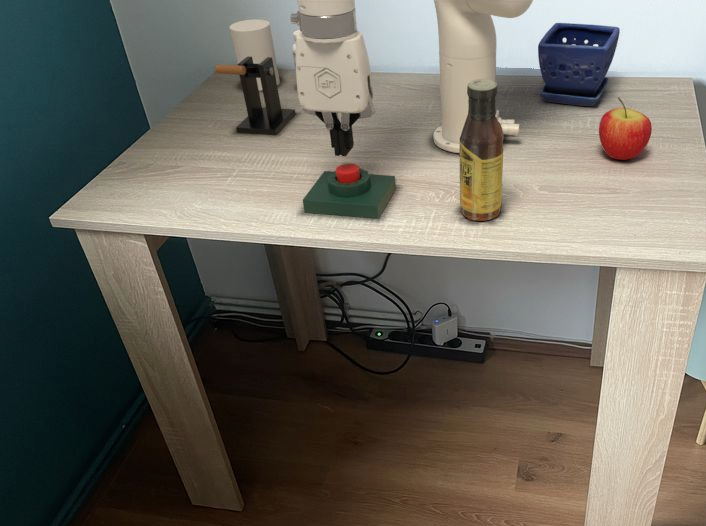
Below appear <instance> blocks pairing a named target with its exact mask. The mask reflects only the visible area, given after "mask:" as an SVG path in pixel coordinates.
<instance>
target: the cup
mask: <svg viewBox="0 0 706 526" xmlns="http://www.w3.org/2000/svg"><path fill="white" fill-rule="evenodd" d="M270 24H271V23H270V22H269V21H268V20H265V19H245V20H240V21H236V22H234V23H232V24H230V26H229V32H230V36H231V41H232V46H233V51H234V55H235V61H236V65H237V64H239V63H240V62H241V61H242V60H244V59H245V58H246V57H247V56H249V57H252V59H253V64H260V63H261V62H262V61H263V60H265V59H266V58H267V57H272V59H273V65H274V71H275V76H276V82H277V86H279V85H280V83H281V81H280V76H279V70H278V63H277V58H276V53H275V46H274V41H273V35H272V30H271V25H270ZM256 79H257V84H258V89H259V92H261V91H263V90H262V85H261V80H260V78H256ZM240 84H241V83H240ZM241 86H242V84H241Z"/></svg>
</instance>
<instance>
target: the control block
mask: <svg viewBox="0 0 706 526" xmlns="http://www.w3.org/2000/svg"><path fill="white" fill-rule="evenodd" d="M359 171H360V180H358V181H356V182H353V183H340V182H338V181H337V176H336V170H334V171H333V170H332V171H330V170H323V172H322V173H321V175H320V176H319V177H318V179H317V180H316V181H315V183H314V184H313V185H312V186H311V188H310V189H309V191H307V193H306V195H305V196H303V199H302V205H303V211H304V213H306V214H307V213H308V214H318V215H331V216H341V217H343V216H344V217H354V218H367V219H380V217H381V215H382V213H383V212H384V210H385V208H386V206H387V204H388V203H389V201H390V200H391V198H392V196H393V195H394V193H395V191H396V189H397V184H396V176H395V175H389V174H375V173H369V172H368V170H365V169H363V168H361V167H359Z"/></svg>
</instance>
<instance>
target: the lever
mask: <svg viewBox="0 0 706 526" xmlns="http://www.w3.org/2000/svg"><path fill="white" fill-rule="evenodd" d="M258 65H259V64H252V63H248V67H245V66H238V65H237V64H236V65H234V64H233V65H232V64H216V65H215V67H214V70H215V73H216V74H218V75H219V74H220V75H239V76H240V75H244V74H245V73H248V77H251V78H260V74H259V69H258Z"/></svg>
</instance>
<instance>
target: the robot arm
mask: <svg viewBox="0 0 706 526" xmlns="http://www.w3.org/2000/svg"><path fill="white" fill-rule="evenodd" d="M355 1H356V0H297V7H298V11H297V12H296V13H293V12H292V13H290V23H291V24H292V25H296V26H299V30H300V32H302V33H300V34H298V35H297V36H296V41H295V43H296V69H295V78H296V79H295V81H296V90H297V97H298V103H299V105H300V107H301V108H302V112H303V113H304V114H308V115H311V116H314V117H315V116H316V118H318V119H319V120H320V121H321V122H322V123H323V124H324V125H325V128H326V130H328V131H329V137H330V145H331V148H332V149H333V150H334V151H333V152H334V156H335V157H340V156H341V157H347V156H348V155H349V153H350V152H351V151H352V149H353V148H354V145H355V143H354V133H353V125H354V124H355V123H356V122H357V121H358V120H359V119H366V118H371V117H373V115H374V114H375V113H376V109H375V106H374V103H373V99H374V84H373V76H372V72H371V71H372V69H371V64H370V59H369V54H368V50H367V47H366V43H365V38H364V35H363V33H362V31H359V30H358V23H357V13H356V12H357V11H356V2H355ZM533 2H534V0H433V4H434V8H435V13H436V20H437V30H438V32H437V33H438V57H439V59H438V60H439V61H438V63H439V87H440V89H439V91H440V92H439V93H440V114H441V116H440V117H441V118H440V120H441V125H440V126H438V127H437V128H436V129H435V130H434V132H433V134H432V137H433V143H434V145H435V146H437V147H438V148H439V149H442V150H443V151H446V152H450V153H454V154H460V148H459V146H460V136H461V133H462V130H463V127H464V124H465V121H466V118H467V115H468V109H469V103H468V100H469V97H468V95H467V86H468V83H470V82H471V81H473V80H476V79H489V80H493V81H495V82H496V83H497V33H496V27H495V24H494V20H493V18H492V16H494V17H497V18H498V17H500V18H507V19H514V18H518V17H520V16H522V15H524V14H525V13H526V12H527V11H528V9H529V8H530V7H531V5H532V4H533ZM339 113H340V115H339ZM495 116H496V118H497V120H498V122H500V125H501V127H502V130H503V140H504V138H505V135H508V136H518V137H519V136H520V130H521V123H516V119H511V118H510V119H503V117H500V109H496V115H495Z"/></svg>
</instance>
